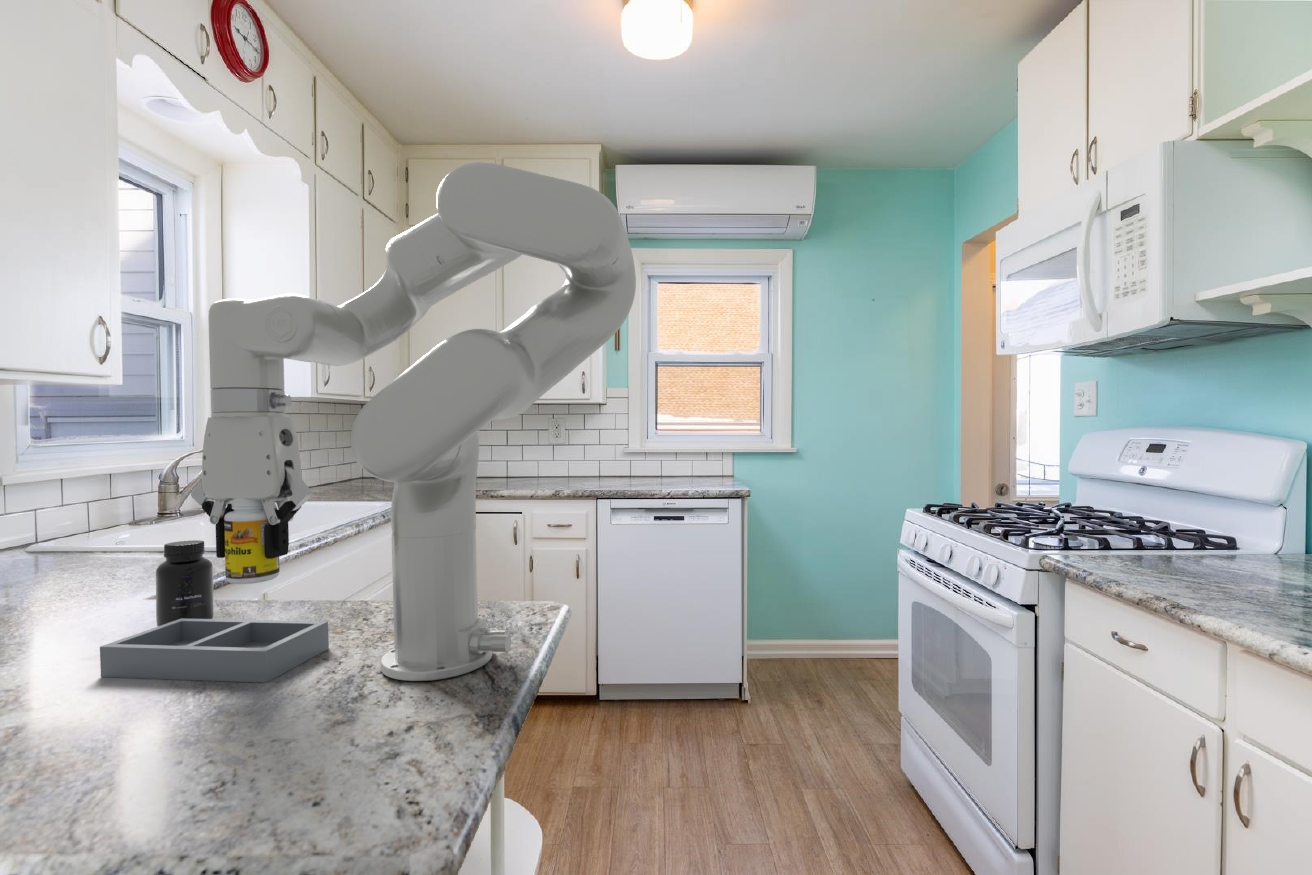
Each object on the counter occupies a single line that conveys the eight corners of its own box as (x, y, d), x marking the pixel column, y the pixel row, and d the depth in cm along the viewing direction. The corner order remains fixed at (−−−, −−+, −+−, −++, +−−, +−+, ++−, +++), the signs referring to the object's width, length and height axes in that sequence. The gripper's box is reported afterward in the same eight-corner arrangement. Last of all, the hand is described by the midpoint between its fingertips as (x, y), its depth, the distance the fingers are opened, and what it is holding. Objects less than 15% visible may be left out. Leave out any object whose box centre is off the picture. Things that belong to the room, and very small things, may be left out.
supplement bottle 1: (184, 632, 92) (181, 547, 92) (144, 630, 93) (141, 546, 93) (225, 618, 99) (223, 538, 98) (187, 616, 100) (185, 538, 100)
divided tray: (328, 648, 84) (327, 621, 83) (266, 682, 73) (265, 651, 73) (182, 644, 86) (181, 618, 86) (100, 676, 76) (99, 646, 75)
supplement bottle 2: (214, 583, 77) (211, 496, 77) (255, 573, 82) (253, 492, 82) (250, 586, 75) (248, 497, 75) (290, 575, 80) (288, 492, 80)
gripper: (334, 404, 81) (338, 550, 81) (209, 407, 83) (213, 549, 83) (292, 403, 73) (297, 563, 74) (157, 406, 76) (161, 561, 76)
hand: (252, 554), depth 79 cm, fingers closed on supplement bottle 2, 5 cm apart
